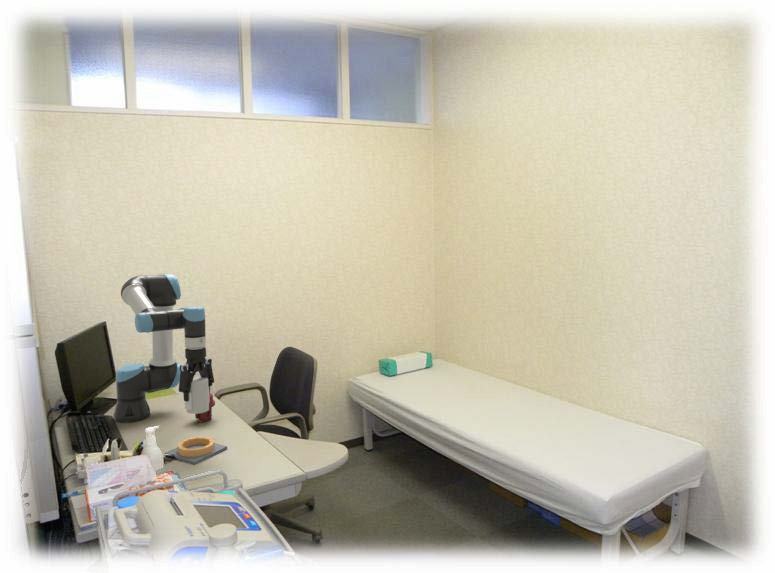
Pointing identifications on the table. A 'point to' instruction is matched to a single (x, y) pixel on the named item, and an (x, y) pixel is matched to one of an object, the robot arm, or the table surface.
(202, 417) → the mechanical component
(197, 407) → the grey cylinder
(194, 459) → the socket board
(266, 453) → the table surface
